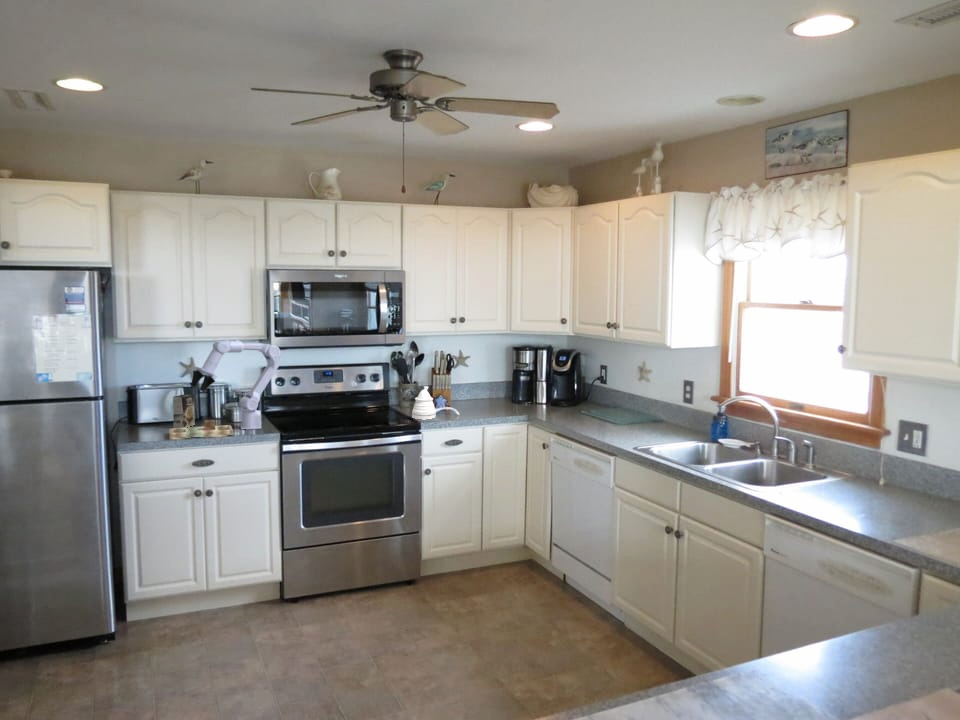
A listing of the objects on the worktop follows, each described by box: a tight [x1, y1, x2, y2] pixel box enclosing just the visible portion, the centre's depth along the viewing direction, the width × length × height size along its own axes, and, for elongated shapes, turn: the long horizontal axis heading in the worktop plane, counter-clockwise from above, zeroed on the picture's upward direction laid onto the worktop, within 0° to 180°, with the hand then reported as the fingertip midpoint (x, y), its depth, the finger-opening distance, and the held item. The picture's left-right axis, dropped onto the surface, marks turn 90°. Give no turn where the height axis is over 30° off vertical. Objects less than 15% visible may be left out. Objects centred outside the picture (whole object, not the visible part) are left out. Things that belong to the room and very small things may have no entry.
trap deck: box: [168, 424, 234, 441], centre depth 354 cm, size 28×14×2 cm, turn 113°
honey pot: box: [411, 385, 437, 420], centre depth 401 cm, size 13×13×18 cm
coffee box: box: [172, 394, 196, 428], centre depth 369 cm, size 9×6×16 cm
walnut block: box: [204, 419, 216, 430], centre depth 355 cm, size 4×4×4 cm
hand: (197, 388), depth 354 cm, fingers open, 7 cm apart
